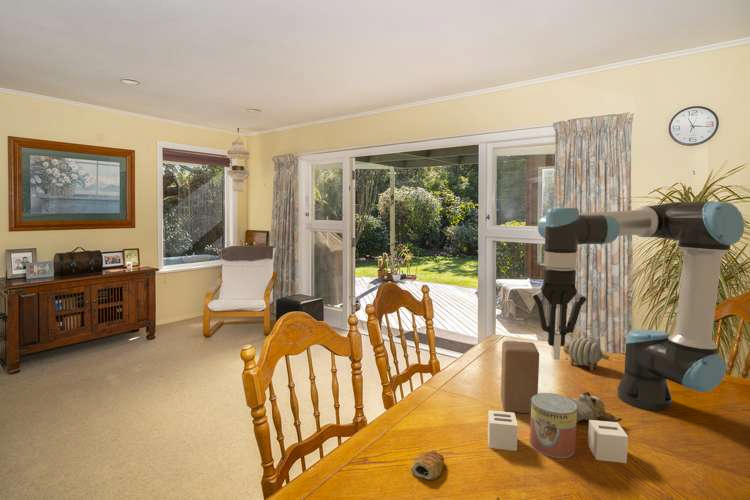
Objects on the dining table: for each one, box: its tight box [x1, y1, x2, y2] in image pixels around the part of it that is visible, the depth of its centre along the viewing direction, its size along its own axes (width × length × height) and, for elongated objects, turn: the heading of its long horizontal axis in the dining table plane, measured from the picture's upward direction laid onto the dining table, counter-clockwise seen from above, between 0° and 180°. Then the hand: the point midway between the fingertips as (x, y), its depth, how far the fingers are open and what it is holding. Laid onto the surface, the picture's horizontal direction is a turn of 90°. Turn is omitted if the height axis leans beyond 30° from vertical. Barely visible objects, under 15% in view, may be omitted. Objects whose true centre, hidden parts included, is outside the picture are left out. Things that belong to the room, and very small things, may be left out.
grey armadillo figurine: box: [562, 338, 610, 371], centre depth 165 cm, size 11×17×11 cm, turn 48°
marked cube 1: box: [487, 409, 519, 452], centre depth 112 cm, size 7×7×7 cm
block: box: [500, 340, 540, 415], centre depth 132 cm, size 10×10×20 cm
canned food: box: [529, 392, 578, 459], centre depth 111 cm, size 11×11×12 cm
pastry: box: [410, 450, 445, 481], centre depth 101 cm, size 9×7×4 cm
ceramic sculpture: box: [566, 391, 622, 423], centre depth 124 cm, size 11×9×15 cm
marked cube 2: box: [587, 420, 629, 464], centre depth 107 cm, size 7×7×7 cm
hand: (555, 357), depth 109 cm, fingers closed
